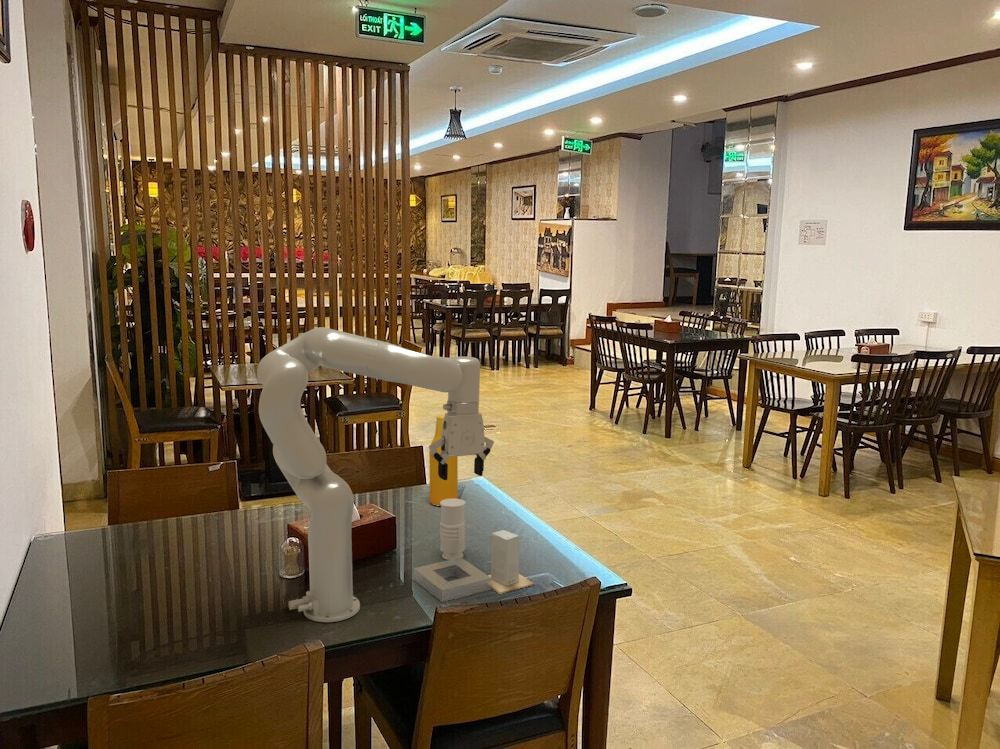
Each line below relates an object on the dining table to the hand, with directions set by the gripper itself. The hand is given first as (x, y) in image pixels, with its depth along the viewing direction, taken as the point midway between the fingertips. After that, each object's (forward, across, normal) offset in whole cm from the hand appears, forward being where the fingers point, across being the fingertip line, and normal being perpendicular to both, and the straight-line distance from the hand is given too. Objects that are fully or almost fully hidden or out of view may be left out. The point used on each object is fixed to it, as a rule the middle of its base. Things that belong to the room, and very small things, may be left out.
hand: (460, 476), depth 187 cm
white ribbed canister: (+27, +6, +15) cm, 31 cm away
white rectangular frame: (+27, -2, -1) cm, 27 cm away
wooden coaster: (+26, +10, -7) cm, 29 cm away
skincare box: (+26, +10, -7) cm, 29 cm away
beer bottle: (+26, +24, +56) cm, 67 cm away
